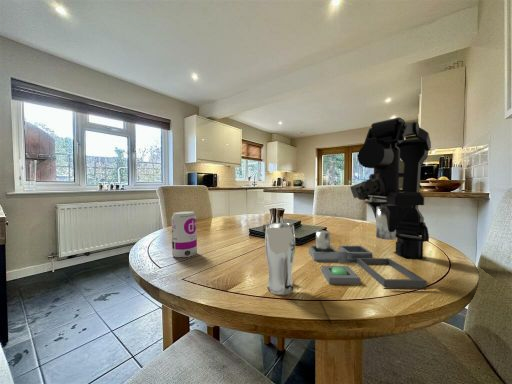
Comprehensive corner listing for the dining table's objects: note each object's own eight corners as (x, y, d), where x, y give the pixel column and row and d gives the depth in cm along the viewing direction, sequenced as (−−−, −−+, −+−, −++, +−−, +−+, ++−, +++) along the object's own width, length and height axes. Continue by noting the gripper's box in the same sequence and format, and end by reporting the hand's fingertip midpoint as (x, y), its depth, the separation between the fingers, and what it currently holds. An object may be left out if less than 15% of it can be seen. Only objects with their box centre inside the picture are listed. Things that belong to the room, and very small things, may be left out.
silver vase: (288, 299, 44) (287, 229, 44) (259, 291, 48) (259, 226, 47) (299, 286, 50) (299, 224, 49) (273, 279, 54) (273, 221, 53)
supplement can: (201, 253, 75) (201, 211, 74) (182, 260, 68) (181, 214, 67) (186, 249, 79) (185, 210, 79) (167, 256, 72) (166, 213, 72)
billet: (389, 235, 56) (389, 205, 56) (399, 239, 52) (400, 207, 52) (372, 235, 56) (372, 206, 56) (381, 239, 52) (382, 207, 52)
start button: (343, 274, 54) (343, 267, 54) (349, 281, 50) (349, 273, 50) (329, 274, 54) (329, 267, 54) (334, 281, 50) (334, 273, 50)
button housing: (348, 275, 55) (348, 266, 55) (359, 288, 48) (359, 277, 48) (321, 275, 56) (321, 265, 56) (329, 288, 49) (329, 277, 49)
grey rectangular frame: (388, 266, 61) (389, 258, 61) (426, 291, 47) (426, 280, 47) (356, 266, 61) (356, 258, 61) (384, 291, 47) (384, 280, 47)
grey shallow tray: (359, 254, 71) (359, 244, 71) (374, 266, 61) (374, 254, 61) (308, 254, 72) (308, 244, 72) (315, 265, 62) (314, 254, 62)
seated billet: (327, 254, 69) (327, 230, 69) (332, 259, 65) (332, 233, 65) (314, 254, 69) (314, 230, 69) (317, 259, 65) (317, 233, 65)
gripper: (341, 172, 63) (341, 223, 64) (373, 167, 45) (372, 239, 45) (378, 171, 63) (378, 223, 63) (426, 166, 44) (425, 239, 45)
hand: (385, 229), depth 54 cm, fingers closed on billet, 4 cm apart
